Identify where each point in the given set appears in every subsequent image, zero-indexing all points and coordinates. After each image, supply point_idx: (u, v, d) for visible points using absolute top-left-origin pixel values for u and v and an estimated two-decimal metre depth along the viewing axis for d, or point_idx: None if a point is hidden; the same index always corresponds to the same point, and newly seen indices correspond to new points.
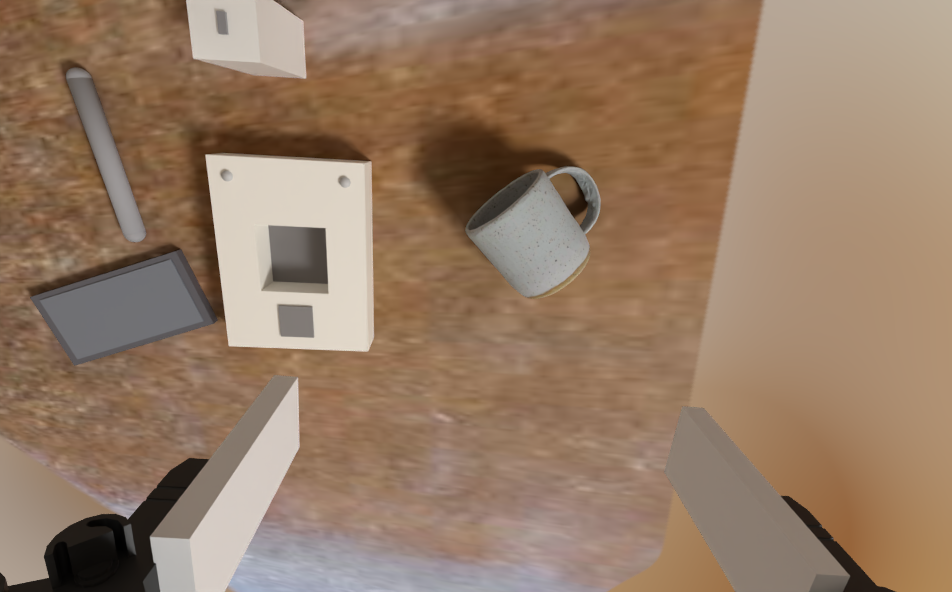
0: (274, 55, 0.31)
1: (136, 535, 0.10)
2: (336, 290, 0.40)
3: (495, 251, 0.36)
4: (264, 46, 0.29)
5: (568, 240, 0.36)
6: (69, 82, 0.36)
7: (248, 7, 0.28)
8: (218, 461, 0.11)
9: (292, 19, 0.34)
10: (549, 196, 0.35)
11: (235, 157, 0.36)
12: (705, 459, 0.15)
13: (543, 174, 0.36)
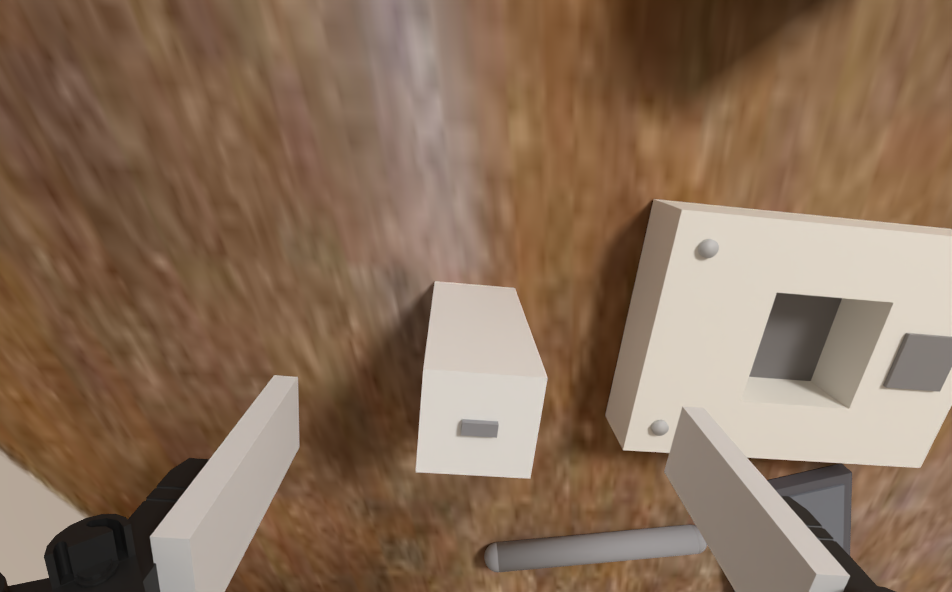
0: (515, 342, 0.18)
1: (136, 535, 0.10)
2: (892, 288, 0.21)
3: None
4: (514, 364, 0.16)
5: None
6: (503, 570, 0.28)
7: (455, 383, 0.15)
8: (218, 461, 0.11)
9: (441, 299, 0.21)
10: None
11: (634, 411, 0.23)
12: (705, 459, 0.15)
13: None
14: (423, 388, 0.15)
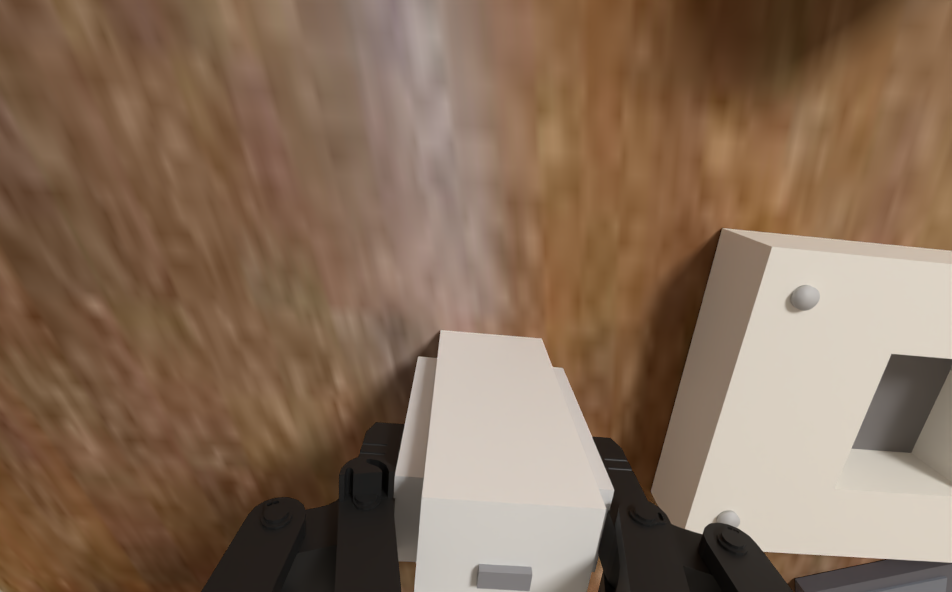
0: (552, 436, 0.13)
1: None
2: None
3: None
4: (554, 482, 0.11)
5: None
6: None
7: (469, 517, 0.10)
8: (413, 422, 0.14)
9: (448, 359, 0.16)
10: None
11: (696, 500, 0.18)
12: None
13: None
14: (422, 523, 0.10)
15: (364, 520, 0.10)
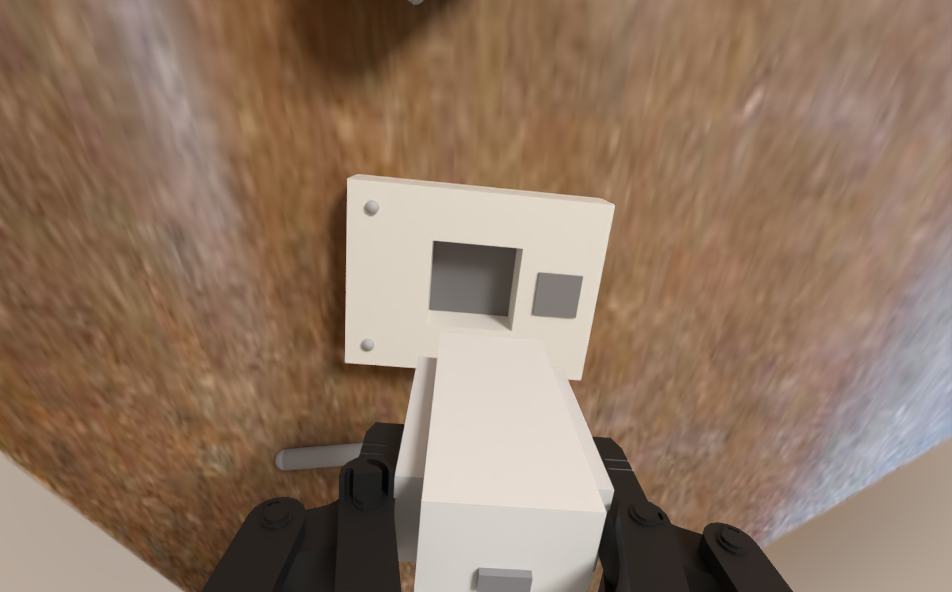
0: (553, 439, 0.13)
1: None
2: (519, 237, 0.29)
3: None
4: (554, 485, 0.11)
5: None
6: (287, 468, 0.36)
7: (469, 521, 0.10)
8: (413, 422, 0.14)
9: (448, 361, 0.16)
10: None
11: (346, 332, 0.31)
12: None
13: None
14: (421, 527, 0.10)
15: (364, 520, 0.10)
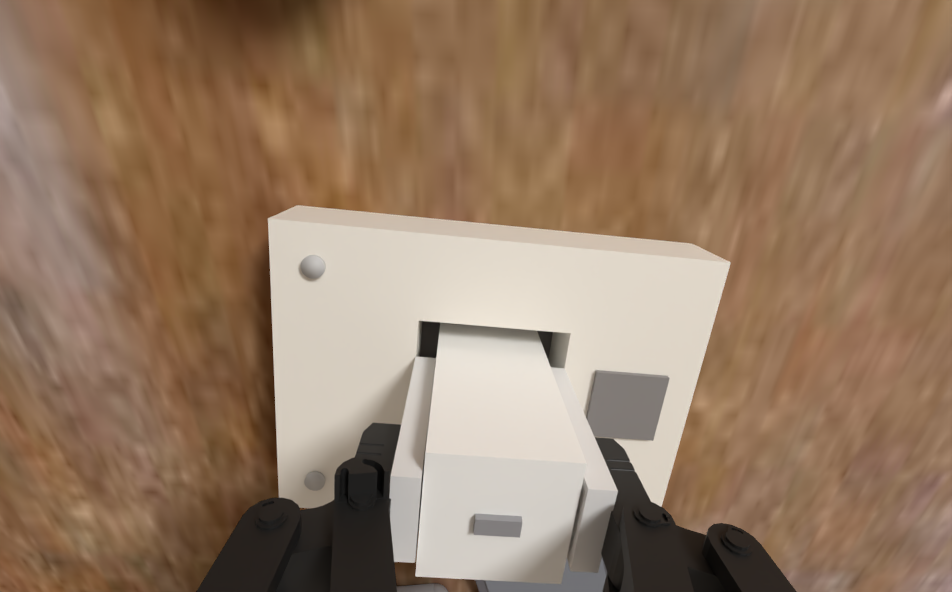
0: (542, 406, 0.14)
1: None
2: (564, 315, 0.17)
3: None
4: (542, 442, 0.12)
5: None
6: None
7: (467, 471, 0.12)
8: (410, 422, 0.14)
9: (448, 342, 0.18)
10: None
11: (279, 461, 0.19)
12: None
13: None
14: (425, 476, 0.12)
15: (360, 520, 0.10)
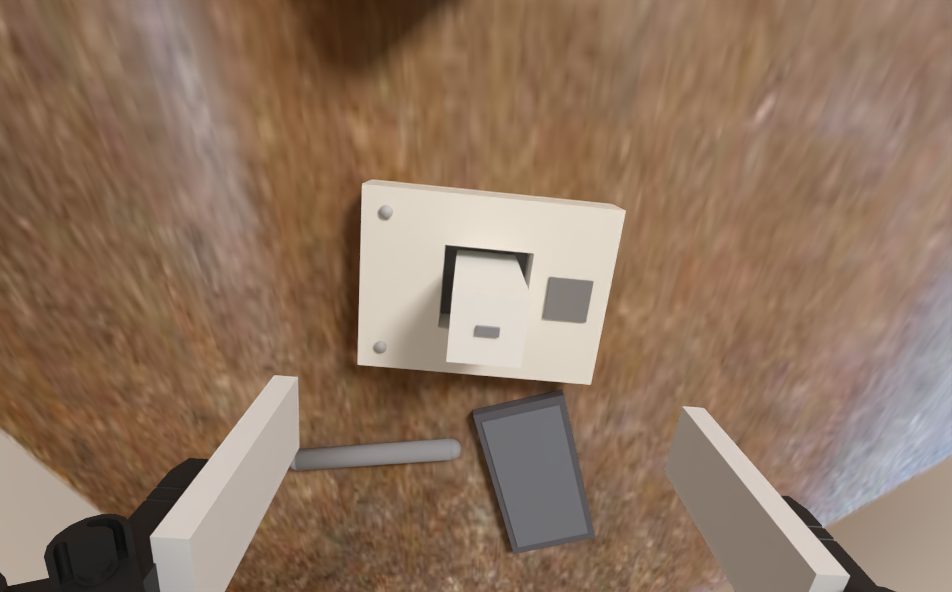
0: (513, 281, 0.26)
1: (136, 535, 0.10)
2: (530, 242, 0.30)
3: None
4: (510, 291, 0.25)
5: None
6: (300, 468, 0.37)
7: (472, 300, 0.24)
8: (218, 461, 0.11)
9: (462, 258, 0.30)
10: None
11: (359, 334, 0.31)
12: (705, 459, 0.15)
13: None
14: (452, 303, 0.24)
15: None
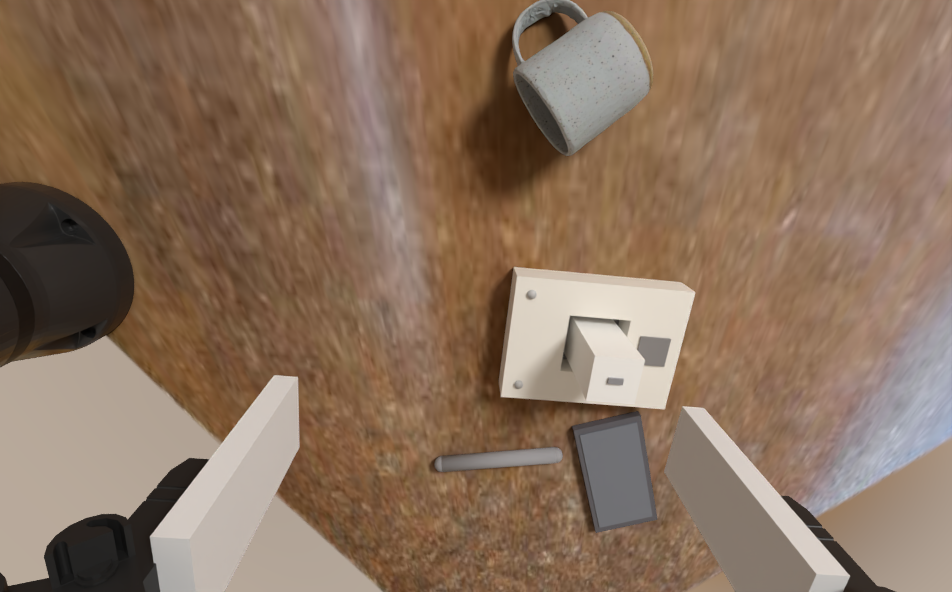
0: (625, 345, 0.40)
1: (136, 535, 0.10)
2: (628, 313, 0.43)
3: (593, 126, 0.34)
4: (629, 354, 0.38)
5: (592, 40, 0.32)
6: (444, 470, 0.50)
7: (607, 362, 0.37)
8: (218, 461, 0.11)
9: (580, 324, 0.43)
10: (542, 63, 0.33)
11: (504, 375, 0.45)
12: (705, 459, 0.15)
13: (519, 69, 0.34)
14: (594, 363, 0.37)
15: None
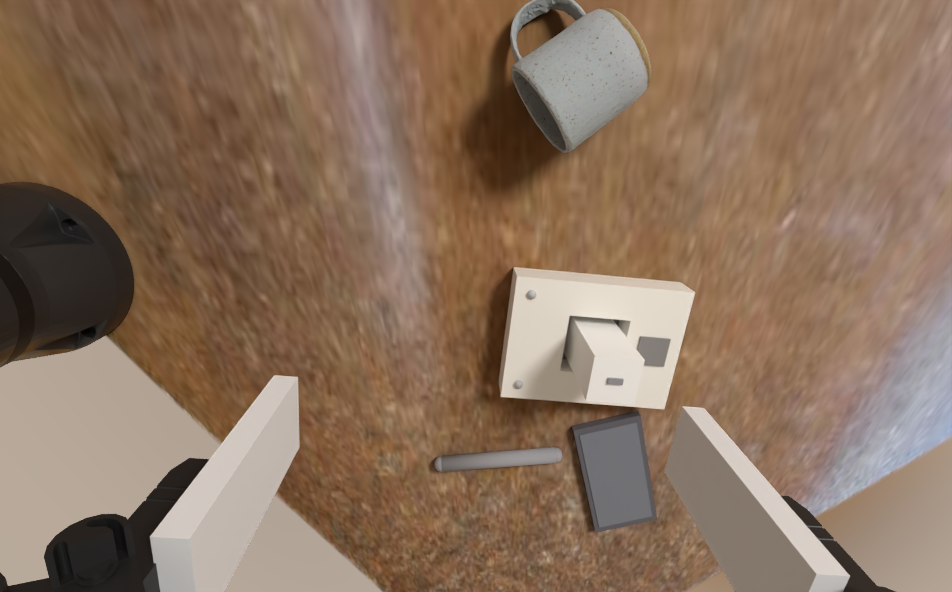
0: (625, 345, 0.40)
1: (136, 535, 0.10)
2: (628, 313, 0.43)
3: (591, 123, 0.34)
4: (629, 354, 0.38)
5: (590, 37, 0.32)
6: (444, 470, 0.50)
7: (607, 362, 0.37)
8: (218, 461, 0.11)
9: (580, 324, 0.43)
10: (540, 59, 0.33)
11: (504, 375, 0.45)
12: (705, 459, 0.15)
13: (517, 65, 0.34)
14: (594, 364, 0.37)
15: None
